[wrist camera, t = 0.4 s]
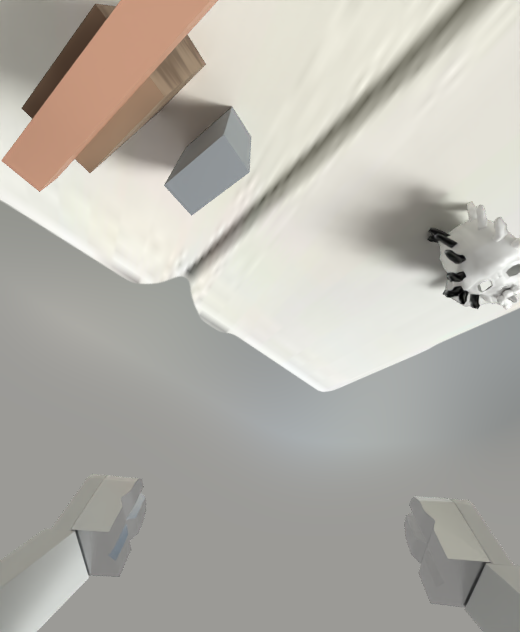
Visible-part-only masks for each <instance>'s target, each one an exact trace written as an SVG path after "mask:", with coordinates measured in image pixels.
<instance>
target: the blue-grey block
mask: <svg viewBox="0 0 520 632" xmlns="http://www.w3.org/2000/svg"><path fill="white" fill-rule="evenodd" d="M250 151H251V136H250V134H249V133H248V131H247V130H246V128H245V126H244V125H243V123H242V121H241V120H240V118H239V117H238V115H237V113H236V112H235V110H234V109H233V107H231V108H230V109H229V110H228V111H227V112H226V113H224V114H223V115H222V116H221V117H220V118H219V119H218V120H217V121H215V122H214V123H213V124H212V125H211V126H210V127H209V128H208V129H206V130H205V131H204V132H203V133H202V134H201V135H200V136H199V137H197V138H196V139H195V140H194V141H193V142H192V143H191V144H189V145H188V146H187V147H186V148H185V150H184V152H183V153H182V155H181V157H180V159H179V160H178V162H177V164H176V166H175V167H174V169H173V171H172V172H171V174H170V176H169V178H168V179H167V181H166V183H165V185H164V186H165V187H166V188H167V189H168V190H169V191H170V192H171V193H172V195H173V196H174V197H175V198H176V199H177V200H178V201H179V202H180V203H181V204H182V206H183V207H184V208H185V209H186V210H187V211H188V212H189V213H190V214H191V215H193V214H194V213H196V212H197V211H198V210H200V209H201V208H202V207H204V206H205V205H206V204H208V203H209V202H210V201H212V200H213V199H214V198H216V197H217V196H218V195H220V194H221V193H222V192H224V191H225V190H226V189H228V188H229V187H230V186H232V185H233V184H234V183H236V182H237V181H238V180H240V179H241V178H242V177H244V176H245V175H246V174H248V173H249V171H250Z"/></svg>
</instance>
